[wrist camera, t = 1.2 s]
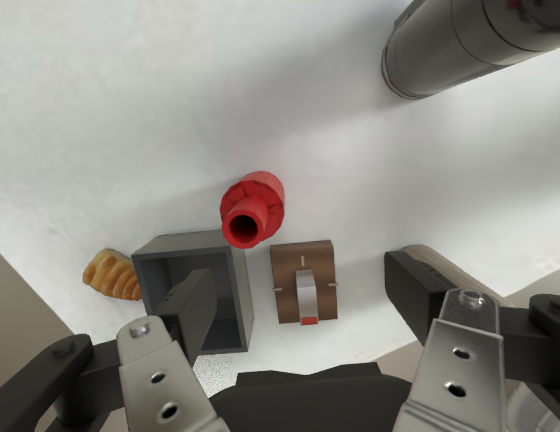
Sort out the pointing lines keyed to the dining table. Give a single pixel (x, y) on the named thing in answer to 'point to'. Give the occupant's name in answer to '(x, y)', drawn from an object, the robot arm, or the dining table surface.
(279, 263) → the brown switch base plate
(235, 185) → the bottle
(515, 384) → the thermos bottle
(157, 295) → the dark grey storage bin
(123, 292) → the pastry
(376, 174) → the dining table surface
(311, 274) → the grey switch handle
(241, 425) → the robot arm
